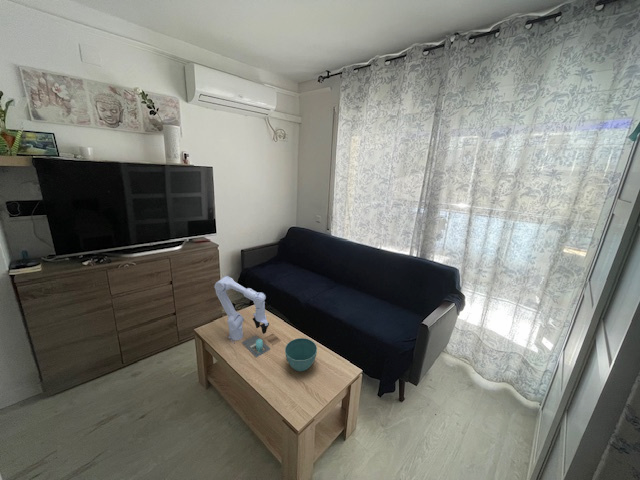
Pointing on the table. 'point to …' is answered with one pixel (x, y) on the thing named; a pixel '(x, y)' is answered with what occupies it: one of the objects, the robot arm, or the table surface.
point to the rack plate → (251, 346)
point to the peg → (259, 345)
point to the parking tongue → (272, 339)
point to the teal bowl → (301, 353)
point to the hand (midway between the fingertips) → (261, 330)
